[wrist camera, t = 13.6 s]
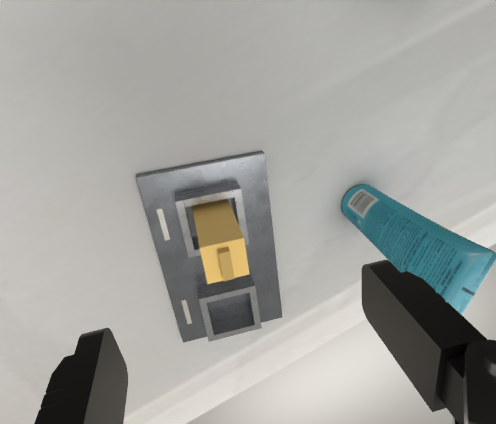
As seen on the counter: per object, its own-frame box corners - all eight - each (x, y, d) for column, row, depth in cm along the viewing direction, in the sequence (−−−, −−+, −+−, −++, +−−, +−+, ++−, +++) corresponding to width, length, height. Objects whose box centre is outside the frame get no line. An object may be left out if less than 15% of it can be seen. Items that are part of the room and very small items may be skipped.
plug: (226, 195, 41) (245, 242, 31) (231, 225, 42) (251, 279, 33) (191, 202, 40) (200, 252, 31) (198, 233, 42) (208, 289, 32)
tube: (365, 228, 48) (476, 329, 31) (333, 225, 47) (431, 329, 30) (384, 175, 45) (517, 256, 28) (350, 171, 44) (469, 252, 27)
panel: (262, 150, 40) (270, 160, 37) (280, 312, 51) (287, 329, 48) (136, 174, 39) (134, 186, 35) (182, 337, 49) (184, 356, 46)
